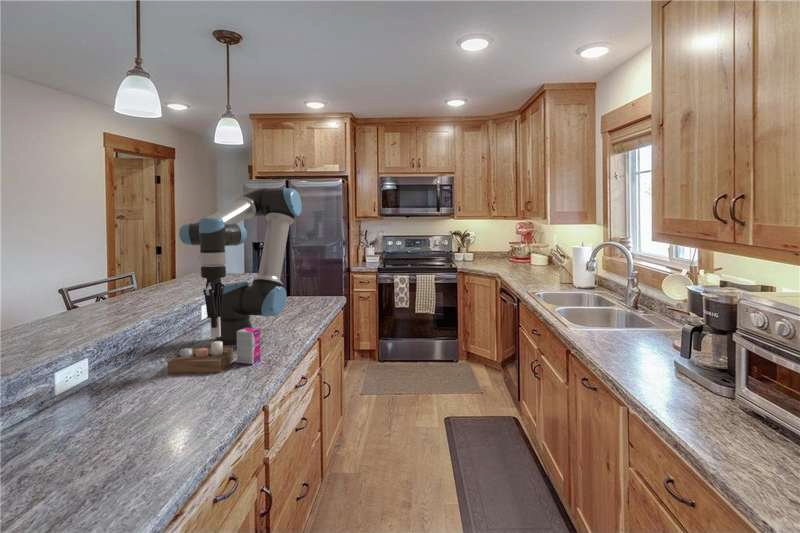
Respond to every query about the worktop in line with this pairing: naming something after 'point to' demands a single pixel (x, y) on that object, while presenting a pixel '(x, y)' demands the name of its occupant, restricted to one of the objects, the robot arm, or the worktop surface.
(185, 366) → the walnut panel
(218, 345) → the white egg
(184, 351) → the pale blue egg
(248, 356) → the supplement box
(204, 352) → the brown egg
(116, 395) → the worktop surface
